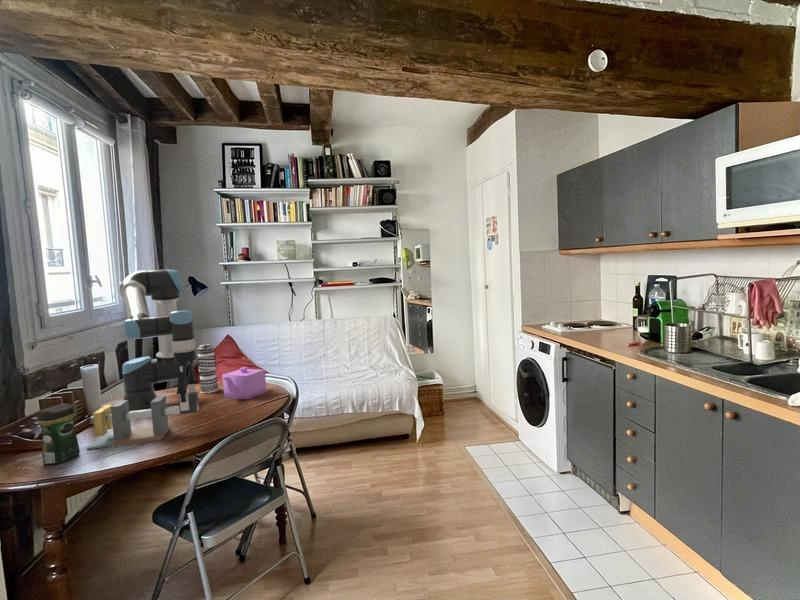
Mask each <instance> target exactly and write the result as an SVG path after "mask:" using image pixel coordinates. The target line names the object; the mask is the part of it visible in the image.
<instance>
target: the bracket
mask: <svg viewBox="0 0 800 600" xmlns="http://www.w3.org/2000/svg"><path fill="white" fill-rule="evenodd" d="M166 397H167V396H166V395H160V396H157V397H156V398H155V399H154V400H153V401H151V413H152V417H151V421H152V427H146V428H137V429H132V425H131V423H132V422H131V419H129V420H124V412H129V403H128V400H123V399H122V400H118V401H117V402H116V403H114V404H113V406H111V415H112V425H113V428H112V434H113V435H114V442H113V443H114V446H113V447H119V446H118V445H121V446H126V444H128V445H133V443H135V444H141V443H140V442H143V443H148V441H150V442H155V441H154V440H157V441H162V440H163V439H162V438H164V437H165V436H166V435H167V434H166V433H168V432H169V431H170V430H171V424H169V418H168V415H163V411H162V408H163V407H168V406H167V398H166ZM169 429H170V430H169ZM165 434H166V435H165ZM161 439H162V440H161ZM115 440H116V441H115Z"/></svg>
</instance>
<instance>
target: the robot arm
mask: <svg viewBox="0 0 800 600" xmlns="http://www.w3.org/2000/svg"><path fill="white" fill-rule="evenodd" d="M183 293H184V289H183V282H182V279H181V276H180V274H179V272H178V271H177V270H176V269H150V270H137V271H134V272H132V273H131V274H129V275H127V276H126V277H125V278H124V279H123V280H122V282H121V283H120V286H119V294H120V297H122V299H123V301H124V305H125V309H126V316H127V319H124V321H123V323H122V324H123V325H122V326H123V333H124V337H125V339H127V340H133V339H135V340H139V339H144V338H151V337H157V339H158V349H159V351H158V352H156V354H155V358H152V357H151V356H141V357H136V358H133V359H131V360H128V361H125V362H124V363H123V364H122V367H121V368H122V372H121V373H122V376H123V378H122V379H123V388H124V389H123V390H124V391H123V392H124V396H123V399H122V400H128V403H129V411H137V410H145V409H151V401H153V400H154V399H155V398H156V397H157V393H156V391H155V388H154V384H159V383H163V382H164V383H165V382H171V381H177V390H176V393H175V394H176V395H178V396H179V397H180V408H181V411H185V410H189V401H188V393H192V392H197V387H196V386H197V384H198V383H199V382H198V381H199V380H197V376H196V372H195V371H196V370H195V367H194V361H195V360H196V359H197V355H196V350H195V348H196V347H195V344H197V341H196V340H195V336H194V323H193V320H194V319H193V314H192V311H191V310H188V309H187V310H186V309H185V310H178V308H177V307H178V305H177V301H178V300H179V299H180V295H182V294H183ZM149 296H150V297H151V301H153V302H155V309H156V312H155V313H156V316H152V317H151V315H150V311H149V307H148V304H147V299H146V297H149Z"/></svg>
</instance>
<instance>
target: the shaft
mask: <svg viewBox="0 0 800 600" xmlns="http://www.w3.org/2000/svg"><path fill="white" fill-rule="evenodd" d="M177 399H178V405H172V406H167V407H163V408H162V411H163V415H167V416H168V415H177V414H179V415H188V414H195V413H198V412H199V411H200V402H199V392H198V391H196V392H192V393H189V392H188V401H189V410H185V411H181V408H180V397H179V395H178V398H177ZM144 418H152V413H151V409H145V410H137V411H129V412H124V420H129V419H130V420H135V419H136V420H138V419H144ZM89 419H90V420H89V421H90V425H94V418H93V415H92V416H90V417H89ZM106 422H112V415H111V414H108V415H107V416H106Z"/></svg>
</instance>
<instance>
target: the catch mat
mask: <svg viewBox="0 0 800 600" xmlns="http://www.w3.org/2000/svg"><path fill="white" fill-rule="evenodd" d="M115 441H116V440H115ZM113 442H114V435H113V433H112V434H105V435H104V436H98V438H97V439H96V440H94V441H93V442H92V443H90V445H89V446H86V450H87V449H92V450H96V449H95V448H99V449H104V448H103V447H106V448H111V447H110V446H113V445H114V443H113ZM113 447H114V446H113Z"/></svg>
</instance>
